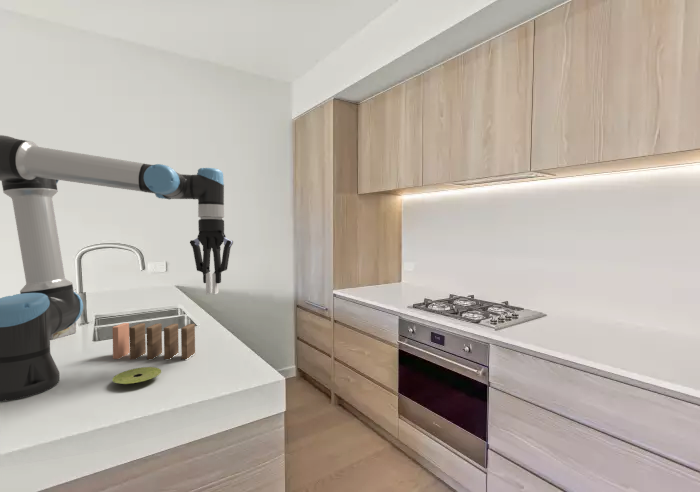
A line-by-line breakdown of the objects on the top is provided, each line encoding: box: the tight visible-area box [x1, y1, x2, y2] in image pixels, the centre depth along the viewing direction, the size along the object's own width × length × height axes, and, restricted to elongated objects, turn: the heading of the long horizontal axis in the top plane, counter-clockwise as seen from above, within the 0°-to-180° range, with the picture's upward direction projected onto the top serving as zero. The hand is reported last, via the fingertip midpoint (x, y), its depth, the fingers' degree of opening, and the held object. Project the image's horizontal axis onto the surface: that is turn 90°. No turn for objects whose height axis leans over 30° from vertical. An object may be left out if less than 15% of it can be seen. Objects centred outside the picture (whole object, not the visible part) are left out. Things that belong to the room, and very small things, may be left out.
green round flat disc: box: [112, 366, 162, 385], centre depth 96 cm, size 11×11×2 cm
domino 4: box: [163, 323, 180, 359], centre depth 115 cm, size 2×5×10 cm, turn 178°
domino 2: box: [129, 322, 147, 360], centre depth 115 cm, size 2×5×10 cm, turn 177°
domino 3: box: [146, 323, 163, 360], centre depth 115 cm, size 2×5×10 cm, turn 178°
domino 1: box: [112, 322, 130, 360], centre depth 115 cm, size 2×5×10 cm, turn 177°
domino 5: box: [180, 323, 196, 360], centre depth 114 cm, size 2×5×10 cm, turn 177°
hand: (212, 293), depth 113 cm, fingers closed
